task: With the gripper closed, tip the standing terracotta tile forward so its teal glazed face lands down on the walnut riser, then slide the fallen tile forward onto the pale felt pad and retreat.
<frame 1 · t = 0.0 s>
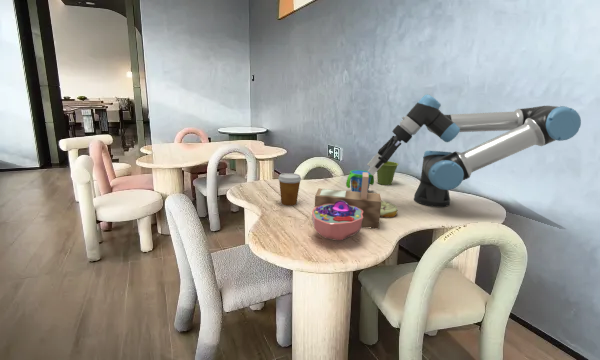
hand: (369, 169, 144), 15 cm above the table, tool tilted 35°, fingers open, 13 cm apart
snack cup: (359, 193, 165), on the table
plant pot: (384, 184, 184), on the table
tile: (363, 196, 126), point 10 cm above the table, touching riser
cell model: (336, 236, 115), on the table
decorated donut: (381, 213, 139), on the table
disposable coffee cup: (288, 203, 146), on the table
riser: (346, 220, 129), on the table
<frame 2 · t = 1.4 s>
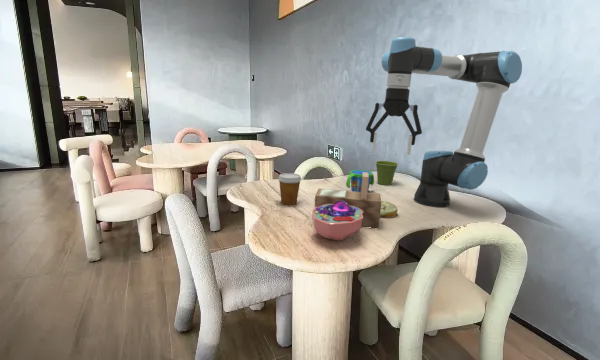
hand: (390, 153, 121), 26 cm above the table, tool pointing down, fingers open, 11 cm apart
nothing on the table moved.
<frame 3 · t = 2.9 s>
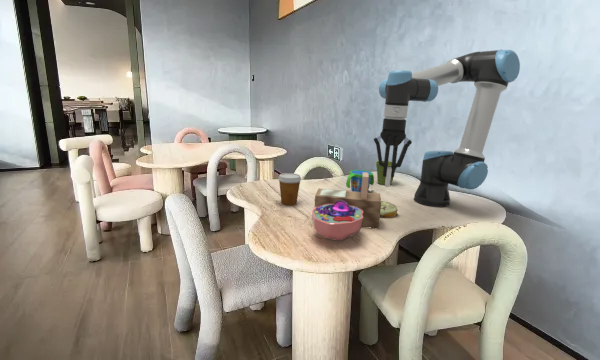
hand: (387, 185, 123), 15 cm above the table, tool pointing down, fingers closed
nothing on the table moved.
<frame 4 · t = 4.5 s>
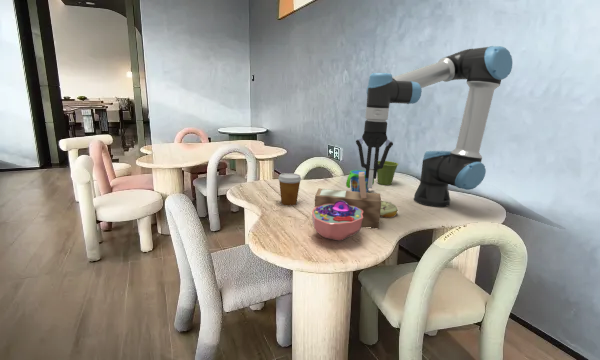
hand: (369, 187, 125), 14 cm above the table, tool pointing down, fingers closed
tile: (363, 195, 126), point 10 cm above the table, tilted 10°, touching riser
everything else where it was.
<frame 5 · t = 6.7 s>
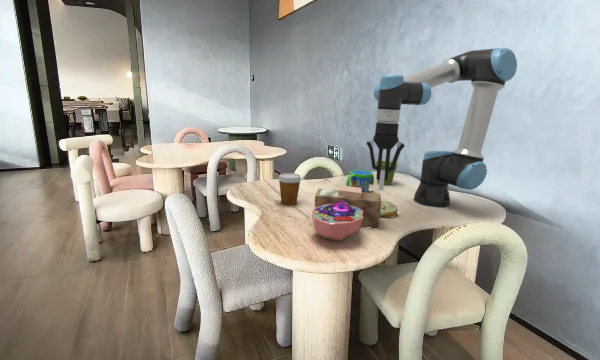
hand: (380, 188, 124), 13 cm above the table, tool pointing down, fingers closed
tile: (361, 193, 126), point 11 cm above the table, tilted 88°, touching riser
everything else where it was.
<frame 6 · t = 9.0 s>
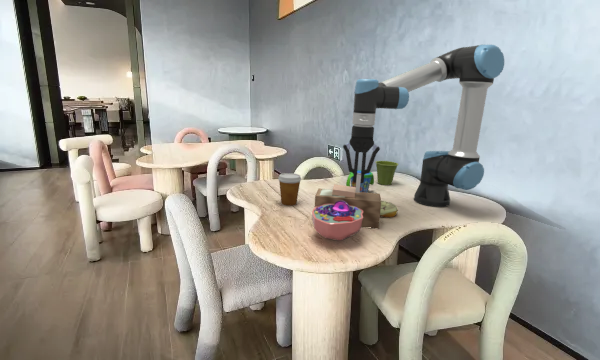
hand: (357, 191, 126), 12 cm above the table, tool pointing down, fingers closed
tile: (355, 192, 126), point 11 cm above the table, tilted 87°, touching gripper
everything else where it was.
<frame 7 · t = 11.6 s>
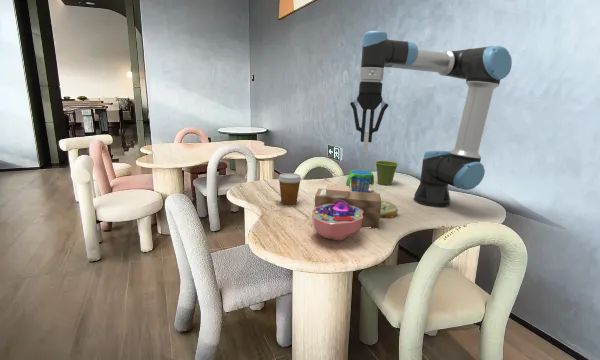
hand: (365, 151, 122), 26 cm above the table, tool pointing down, fingers closed
tile: (348, 191, 126), point 11 cm above the table, tilted 90°, touching riser
everything else where it was.
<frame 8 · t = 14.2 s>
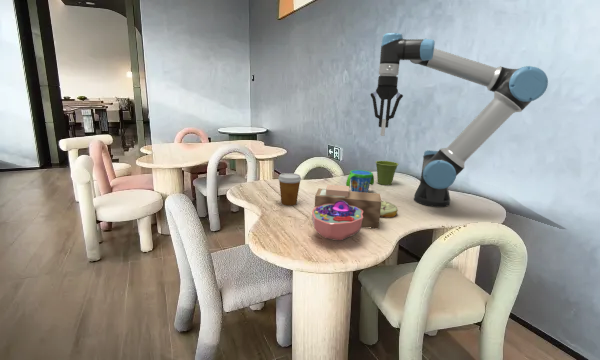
hand: (382, 135, 144), 29 cm above the table, tool pointing down, fingers closed
nothing on the table moved.
at the end: tile tilted 90°; tile inside the target area on the riser (4.1 cm from its centre), point 11.2 cm above the riser's base; the gripper is holding nothing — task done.
